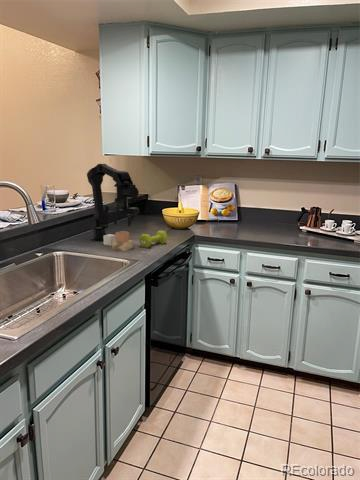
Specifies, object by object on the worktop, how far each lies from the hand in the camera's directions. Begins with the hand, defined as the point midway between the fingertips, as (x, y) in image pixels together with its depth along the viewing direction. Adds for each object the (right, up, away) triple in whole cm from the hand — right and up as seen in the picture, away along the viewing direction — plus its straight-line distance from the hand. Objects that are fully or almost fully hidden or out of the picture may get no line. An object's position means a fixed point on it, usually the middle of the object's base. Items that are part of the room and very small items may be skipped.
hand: (122, 225), depth 203 cm
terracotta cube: (0, -8, -1) cm, 8 cm away
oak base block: (0, -12, 0) cm, 12 cm away
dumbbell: (+16, -11, +8) cm, 21 cm away
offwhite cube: (-8, -10, +8) cm, 15 cm away
